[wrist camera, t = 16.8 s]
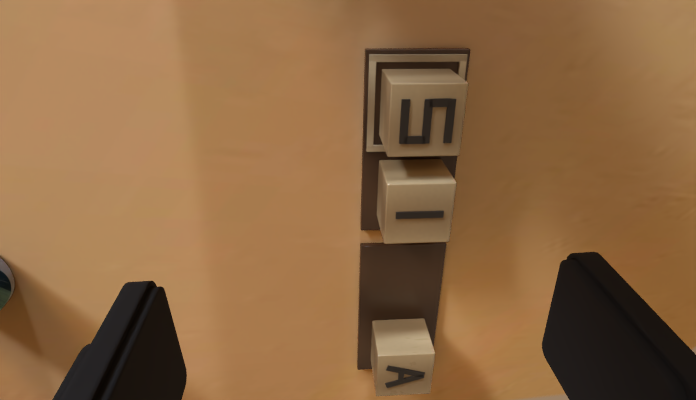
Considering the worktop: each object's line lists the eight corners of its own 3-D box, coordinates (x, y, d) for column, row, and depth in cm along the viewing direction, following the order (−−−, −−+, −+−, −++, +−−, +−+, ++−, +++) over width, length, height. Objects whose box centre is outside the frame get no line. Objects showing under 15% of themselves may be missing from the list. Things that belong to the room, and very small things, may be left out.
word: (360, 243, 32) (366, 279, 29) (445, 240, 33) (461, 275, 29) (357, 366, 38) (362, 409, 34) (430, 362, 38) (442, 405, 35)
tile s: (381, 68, 27) (391, 83, 23) (450, 68, 27) (469, 83, 24) (378, 135, 28) (387, 158, 25) (443, 134, 29) (460, 156, 25)
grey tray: (365, 48, 26) (373, 62, 23) (468, 48, 27) (493, 61, 23) (360, 227, 32) (366, 261, 28) (446, 225, 32) (464, 258, 29)
